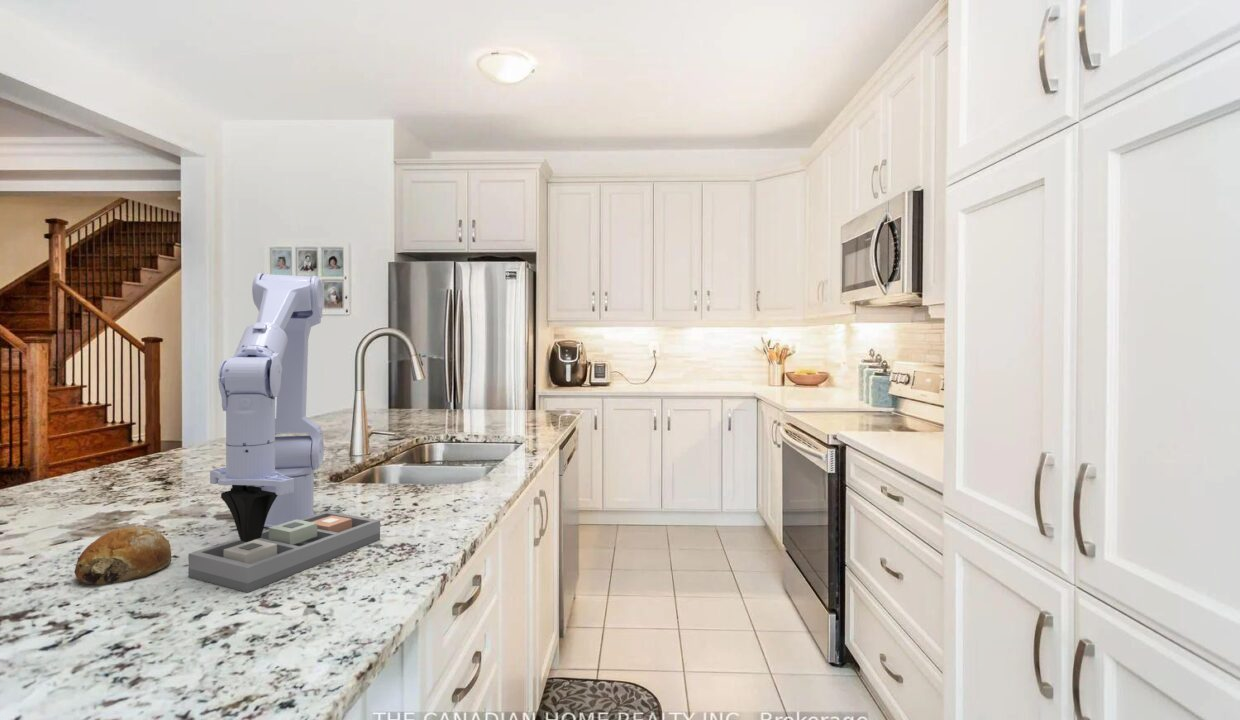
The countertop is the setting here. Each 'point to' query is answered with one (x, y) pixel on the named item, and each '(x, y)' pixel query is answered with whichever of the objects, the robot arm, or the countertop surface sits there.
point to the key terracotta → (334, 523)
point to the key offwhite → (251, 551)
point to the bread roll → (123, 556)
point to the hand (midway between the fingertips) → (250, 539)
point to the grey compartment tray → (281, 555)
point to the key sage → (293, 532)
